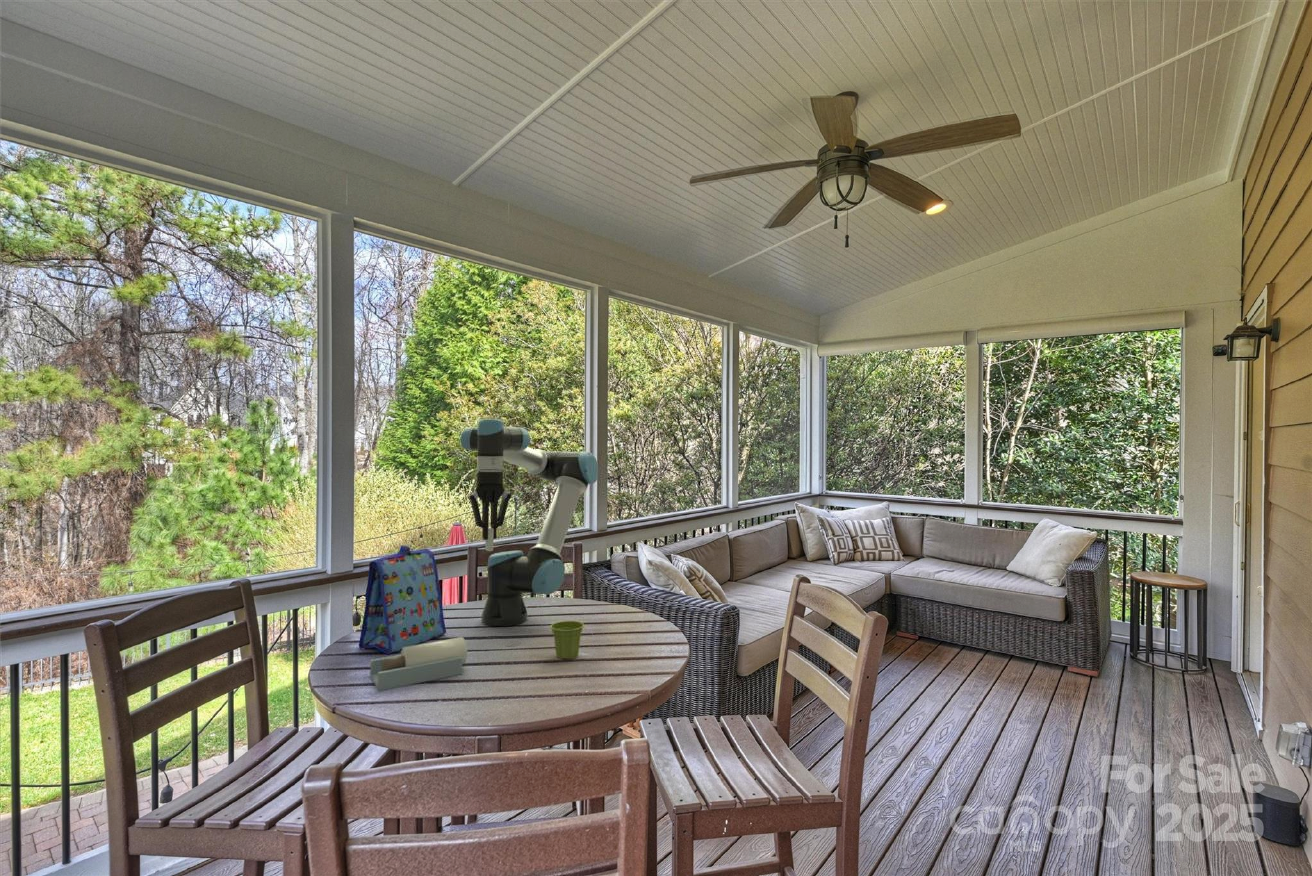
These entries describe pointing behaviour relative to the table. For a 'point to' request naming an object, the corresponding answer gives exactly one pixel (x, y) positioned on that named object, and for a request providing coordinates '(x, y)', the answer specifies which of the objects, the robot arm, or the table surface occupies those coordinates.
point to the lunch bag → (402, 601)
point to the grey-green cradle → (413, 672)
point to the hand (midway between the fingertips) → (489, 550)
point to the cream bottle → (427, 653)
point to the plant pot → (567, 638)
